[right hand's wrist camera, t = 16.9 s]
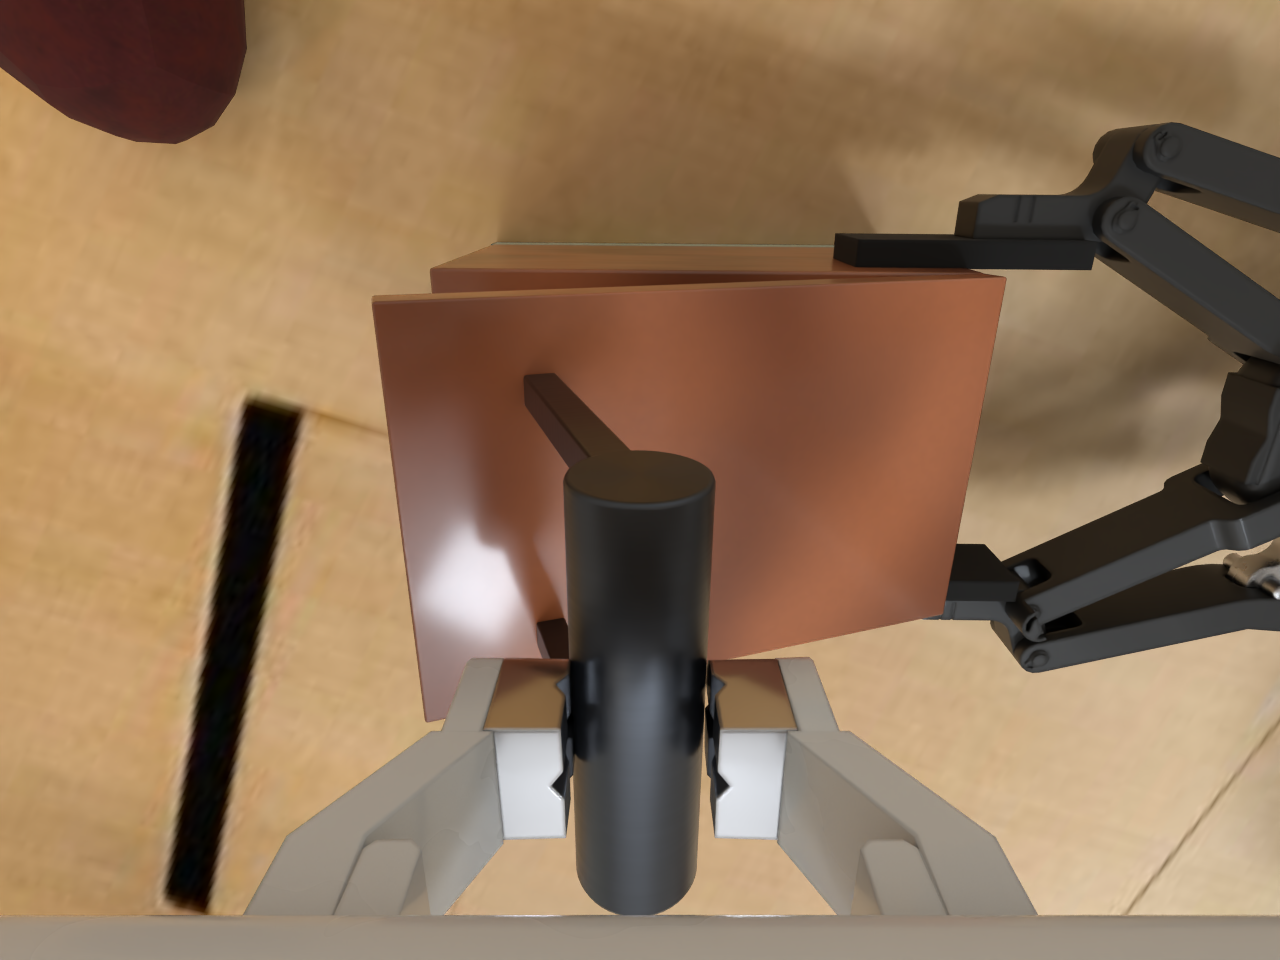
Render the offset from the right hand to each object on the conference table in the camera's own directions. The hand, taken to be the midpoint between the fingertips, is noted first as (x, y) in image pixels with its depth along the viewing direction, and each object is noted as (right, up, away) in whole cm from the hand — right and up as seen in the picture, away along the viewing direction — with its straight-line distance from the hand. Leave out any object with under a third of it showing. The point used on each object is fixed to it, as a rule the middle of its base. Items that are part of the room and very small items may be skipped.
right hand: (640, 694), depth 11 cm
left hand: (+6, +5, +13) cm, 15 cm away
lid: (+2, +3, +8) cm, 9 cm away
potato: (-16, +19, +15) cm, 29 cm away
